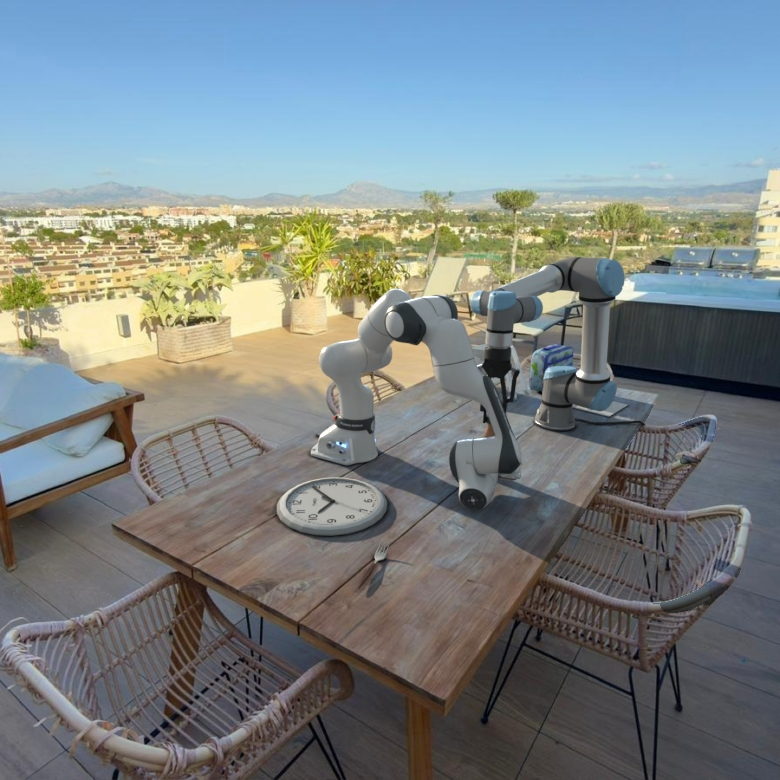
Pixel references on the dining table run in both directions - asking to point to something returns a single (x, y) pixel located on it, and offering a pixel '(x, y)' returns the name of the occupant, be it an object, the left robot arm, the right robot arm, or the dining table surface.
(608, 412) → the invitation card
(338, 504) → the wall clock
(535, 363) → the lunch box
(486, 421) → the cap
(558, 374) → the right robot arm
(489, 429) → the bottle
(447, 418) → the dining table surface
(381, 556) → the fork
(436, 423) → the dining table surface
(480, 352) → the white plastic object
